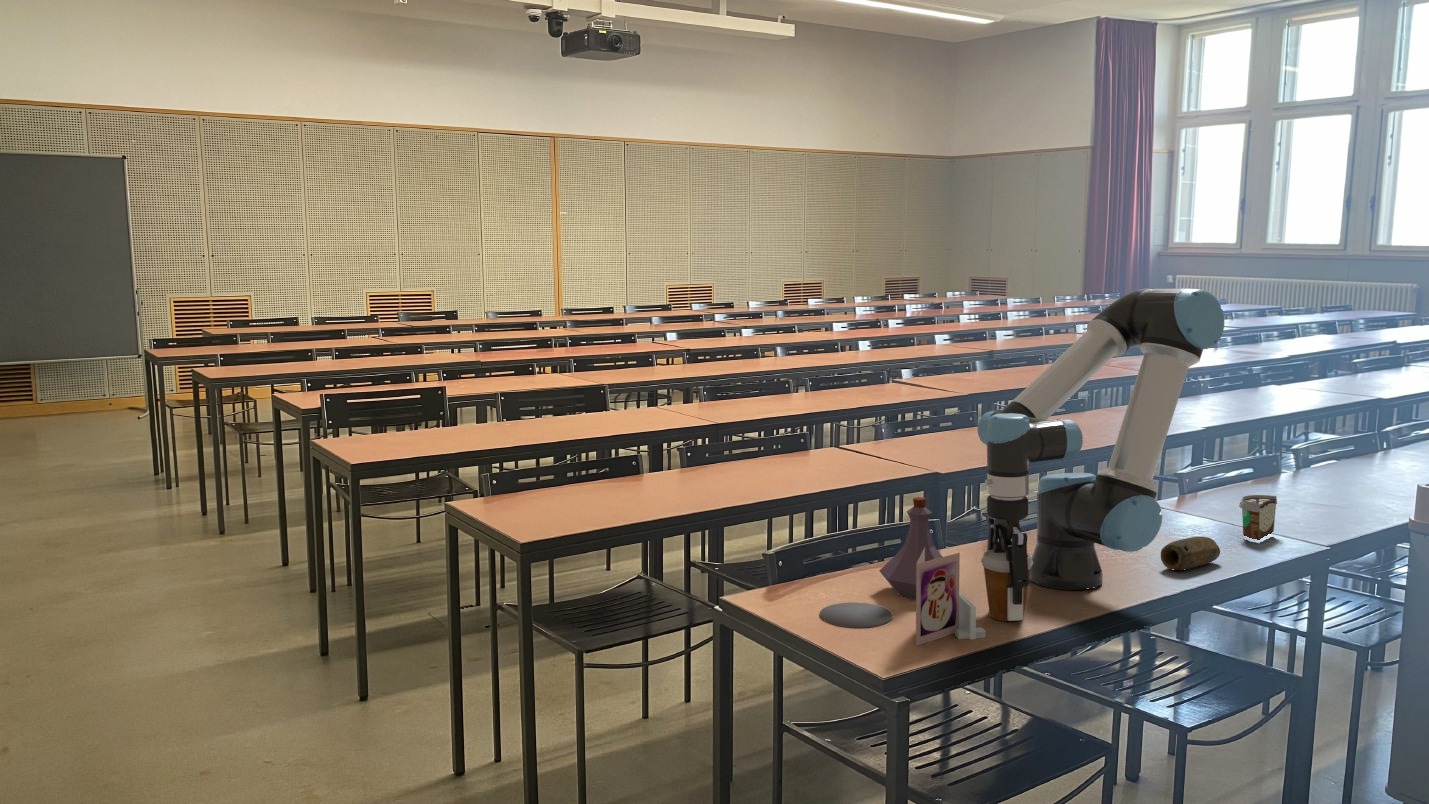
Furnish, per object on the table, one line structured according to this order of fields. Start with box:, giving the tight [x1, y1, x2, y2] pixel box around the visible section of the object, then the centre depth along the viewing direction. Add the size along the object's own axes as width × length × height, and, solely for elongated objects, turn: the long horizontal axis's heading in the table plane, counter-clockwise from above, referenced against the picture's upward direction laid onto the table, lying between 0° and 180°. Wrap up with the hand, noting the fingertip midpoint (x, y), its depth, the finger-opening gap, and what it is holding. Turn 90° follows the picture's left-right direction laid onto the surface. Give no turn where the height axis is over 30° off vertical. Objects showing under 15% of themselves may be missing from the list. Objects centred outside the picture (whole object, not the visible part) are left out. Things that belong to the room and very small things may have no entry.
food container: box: [1238, 494, 1278, 540], centre depth 243 cm, size 12×6×10 cm, turn 133°
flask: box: [879, 496, 944, 601], centre depth 206 cm, size 16×16×20 cm
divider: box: [954, 590, 987, 640], centre depth 188 cm, size 5×17×6 cm, turn 5°
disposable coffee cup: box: [980, 550, 1033, 622], centre depth 190 cm, size 10×10×12 cm
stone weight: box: [1160, 536, 1221, 571], centre depth 221 cm, size 15×7×7 cm, turn 127°
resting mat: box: [819, 601, 893, 629], centre depth 194 cm, size 14×14×1 cm
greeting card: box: [915, 548, 961, 646], centre depth 182 cm, size 11×7×15 cm, turn 126°
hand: (1006, 611), depth 191 cm, fingers closed on disposable coffee cup, 8 cm apart
